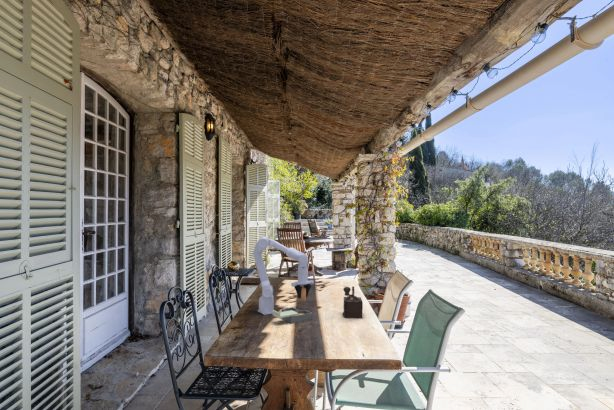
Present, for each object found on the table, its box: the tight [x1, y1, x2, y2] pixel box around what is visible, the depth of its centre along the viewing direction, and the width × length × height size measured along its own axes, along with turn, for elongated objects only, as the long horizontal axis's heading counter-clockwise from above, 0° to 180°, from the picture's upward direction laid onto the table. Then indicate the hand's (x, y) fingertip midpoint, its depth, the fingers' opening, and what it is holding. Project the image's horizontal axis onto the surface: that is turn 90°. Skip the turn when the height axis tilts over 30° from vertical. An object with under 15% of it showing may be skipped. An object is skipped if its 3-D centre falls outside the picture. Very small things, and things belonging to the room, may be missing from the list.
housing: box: [280, 306, 314, 324], centre depth 196 cm, size 16×14×4 cm
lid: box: [272, 309, 298, 319], centre depth 188 cm, size 7×12×3 cm, turn 124°
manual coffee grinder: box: [342, 286, 364, 319], centre depth 199 cm, size 16×11×18 cm
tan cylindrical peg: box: [298, 287, 307, 302], centre depth 208 cm, size 4×4×7 cm
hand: (302, 297), depth 208 cm, fingers closed on tan cylindrical peg, 4 cm apart
